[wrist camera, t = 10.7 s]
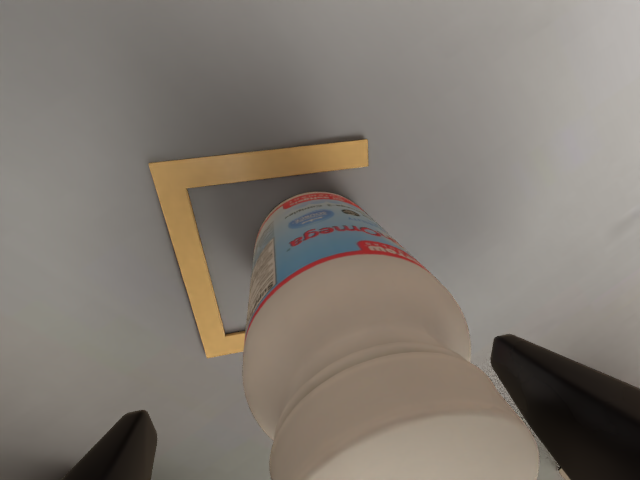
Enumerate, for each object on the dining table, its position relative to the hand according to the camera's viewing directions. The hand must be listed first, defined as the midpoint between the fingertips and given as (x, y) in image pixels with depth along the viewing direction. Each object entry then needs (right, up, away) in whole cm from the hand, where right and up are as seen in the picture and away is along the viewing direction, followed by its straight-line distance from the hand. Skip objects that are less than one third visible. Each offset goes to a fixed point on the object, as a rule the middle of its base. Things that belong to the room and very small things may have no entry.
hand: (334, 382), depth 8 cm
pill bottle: (-1, +3, +8) cm, 8 cm away
